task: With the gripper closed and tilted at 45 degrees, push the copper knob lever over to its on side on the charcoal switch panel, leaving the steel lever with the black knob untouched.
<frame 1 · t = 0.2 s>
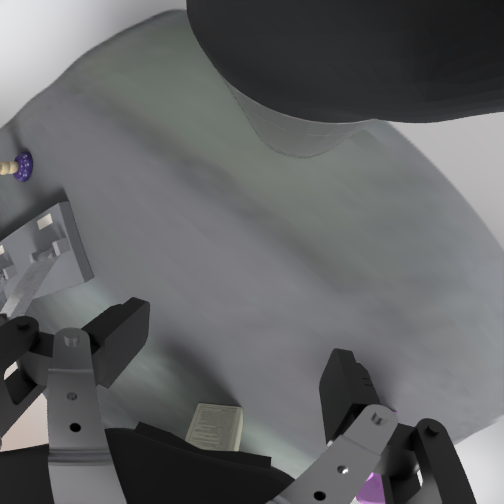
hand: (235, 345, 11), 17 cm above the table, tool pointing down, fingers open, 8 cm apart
toy chair: (368, 431, 34), on the table
switch panel: (36, 259, 32), on the table
toy lamp: (24, 165, 29), on the table
skincare box: (222, 413, 35), on the table
black knob lever: (25, 289, 23), point 9 cm above the table, hinge at -24.0°
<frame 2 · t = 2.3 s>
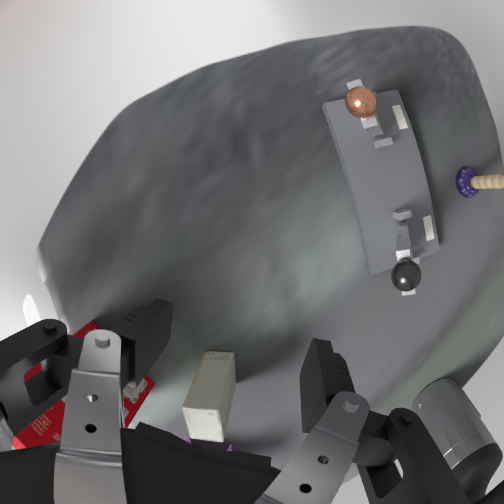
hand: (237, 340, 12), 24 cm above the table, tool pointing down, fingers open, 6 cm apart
switch panel: (384, 179, 32), on the table
toy lamp: (466, 180, 30), on the table
skincare box: (222, 367, 40), on the table
copper knob lever: (368, 112, 23), point 9 cm above the table, hinge at -24.0°
food packaging: (116, 359, 42), on the table
black knob lever: (405, 254, 25), point 9 cm above the table, hinge at -24.0°
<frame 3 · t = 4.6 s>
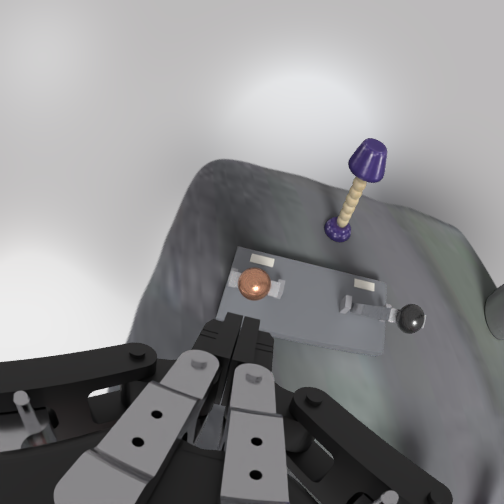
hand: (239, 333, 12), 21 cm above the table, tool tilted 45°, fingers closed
switch panel: (307, 305, 36), on the table
toy lamp: (335, 229, 43), on the table
copper knob lever: (255, 284, 28), point 9 cm above the table, hinge at -24.0°
black knob lever: (386, 314, 27), point 9 cm above the table, hinge at -24.0°
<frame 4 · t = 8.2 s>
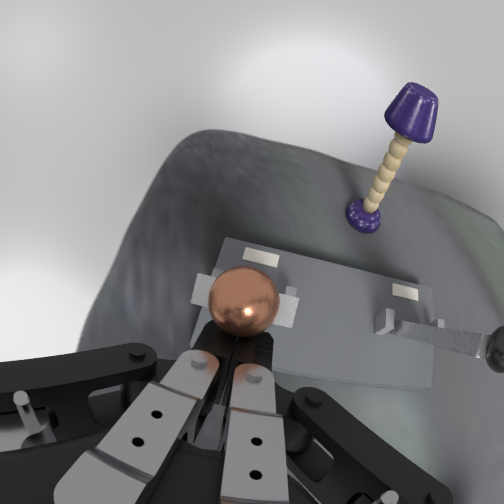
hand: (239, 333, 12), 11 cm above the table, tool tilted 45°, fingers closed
switch panel: (326, 324, 24), on the table
toy lamp: (359, 216, 31), on the table
copper knob lever: (248, 297, 16), point 9 cm above the table, hinge at -24.0°, touching gripper
black knob lever: (452, 338, 15), point 9 cm above the table, hinge at -24.0°
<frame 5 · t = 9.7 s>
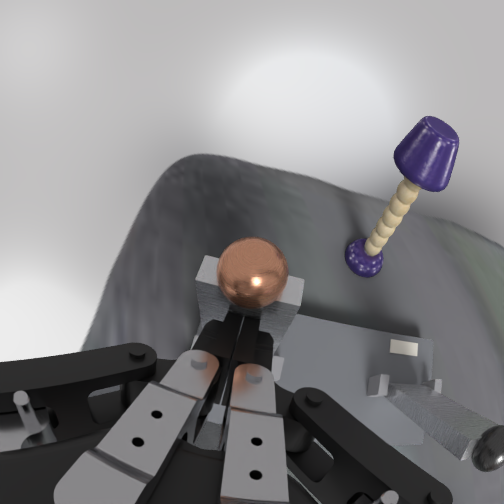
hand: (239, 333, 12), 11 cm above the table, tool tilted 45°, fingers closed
switch panel: (317, 383, 22), on the table
toy lamp: (360, 257, 28), on the table
copper knob lever: (242, 328, 15), point 9 cm above the table, hinge at 7.0°, touching gripper
black knob lever: (445, 417, 12), point 9 cm above the table, hinge at -24.0°
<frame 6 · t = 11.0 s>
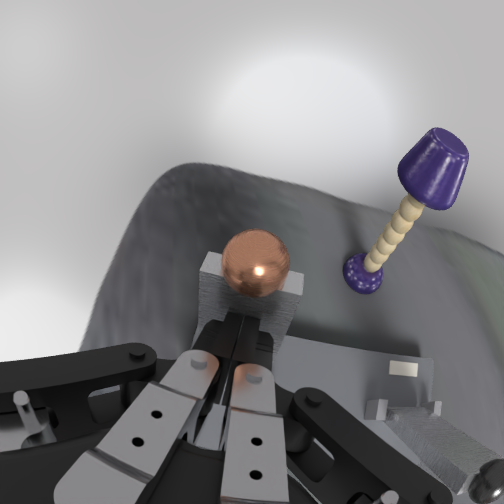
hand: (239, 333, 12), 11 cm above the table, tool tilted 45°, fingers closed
switch panel: (313, 405, 20), on the table
toy lamp: (359, 273, 27), on the table
copper knob lever: (239, 339, 14), point 9 cm above the table, hinge at 19.6°, touching gripper
black knob lever: (443, 445, 11), point 9 cm above the table, hinge at -24.0°
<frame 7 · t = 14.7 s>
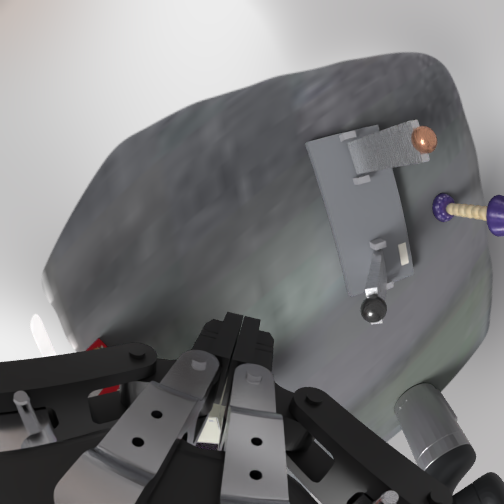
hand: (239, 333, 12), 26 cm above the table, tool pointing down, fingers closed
switch panel: (363, 210, 36), on the table
toy lamp: (443, 205, 35), on the table
skincare box: (218, 377, 44), on the table
copper knob lever: (388, 148, 26), point 9 cm above the table, hinge at 19.6°
black knob lever: (377, 285, 30), point 9 cm above the table, hinge at -24.0°
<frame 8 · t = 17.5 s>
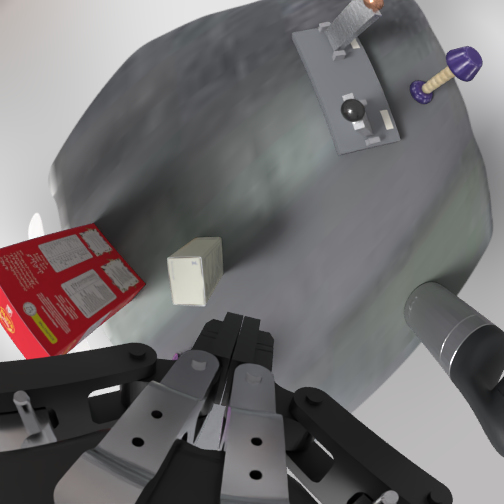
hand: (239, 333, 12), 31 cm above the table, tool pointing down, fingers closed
switch panel: (345, 85, 36), on the table
toy lamp: (420, 91, 35), on the table
skincare box: (210, 256, 45), on the table
copper knob lever: (352, 21, 26), point 9 cm above the table, hinge at 19.6°
food packaging: (111, 262, 47), on the table
black knob lever: (359, 117, 30), point 9 cm above the table, hinge at -24.0°
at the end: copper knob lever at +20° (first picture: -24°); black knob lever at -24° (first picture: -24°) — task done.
